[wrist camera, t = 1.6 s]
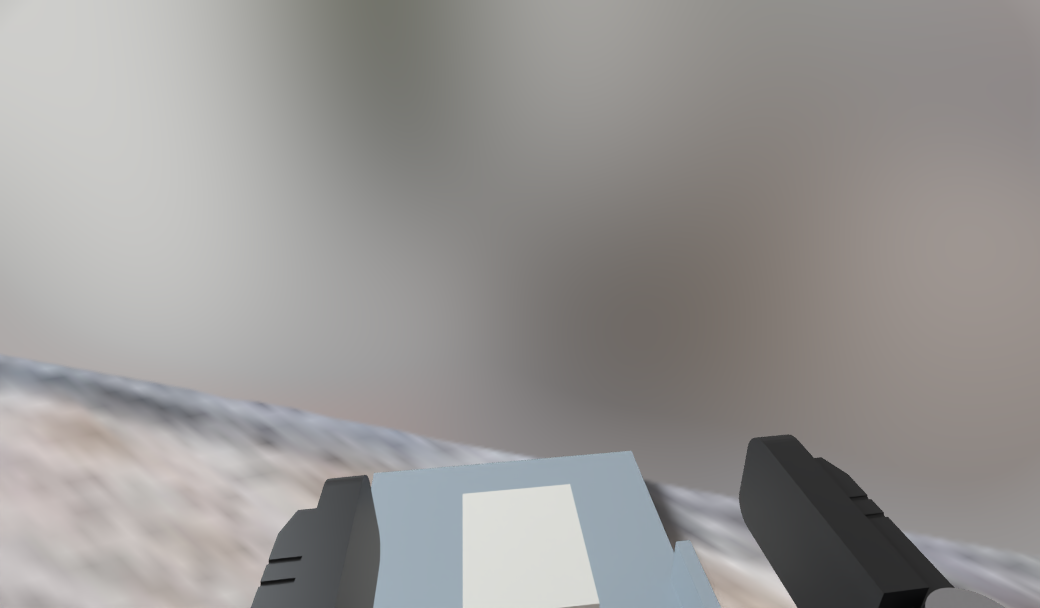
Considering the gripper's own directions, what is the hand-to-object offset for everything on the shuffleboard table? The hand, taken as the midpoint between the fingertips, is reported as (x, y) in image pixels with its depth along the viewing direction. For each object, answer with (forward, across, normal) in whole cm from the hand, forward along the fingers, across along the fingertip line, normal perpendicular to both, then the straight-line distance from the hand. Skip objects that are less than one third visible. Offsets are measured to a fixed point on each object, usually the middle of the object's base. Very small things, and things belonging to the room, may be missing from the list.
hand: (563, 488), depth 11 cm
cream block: (+8, 0, +20) cm, 22 cm away
